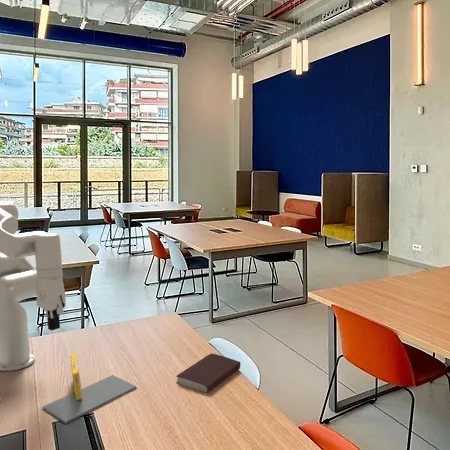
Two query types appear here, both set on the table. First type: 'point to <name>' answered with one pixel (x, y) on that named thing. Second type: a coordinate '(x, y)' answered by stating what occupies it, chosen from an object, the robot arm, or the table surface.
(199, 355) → the table surface
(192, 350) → the table surface
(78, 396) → the candy box
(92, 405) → the mat
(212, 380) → the book
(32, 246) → the robot arm
